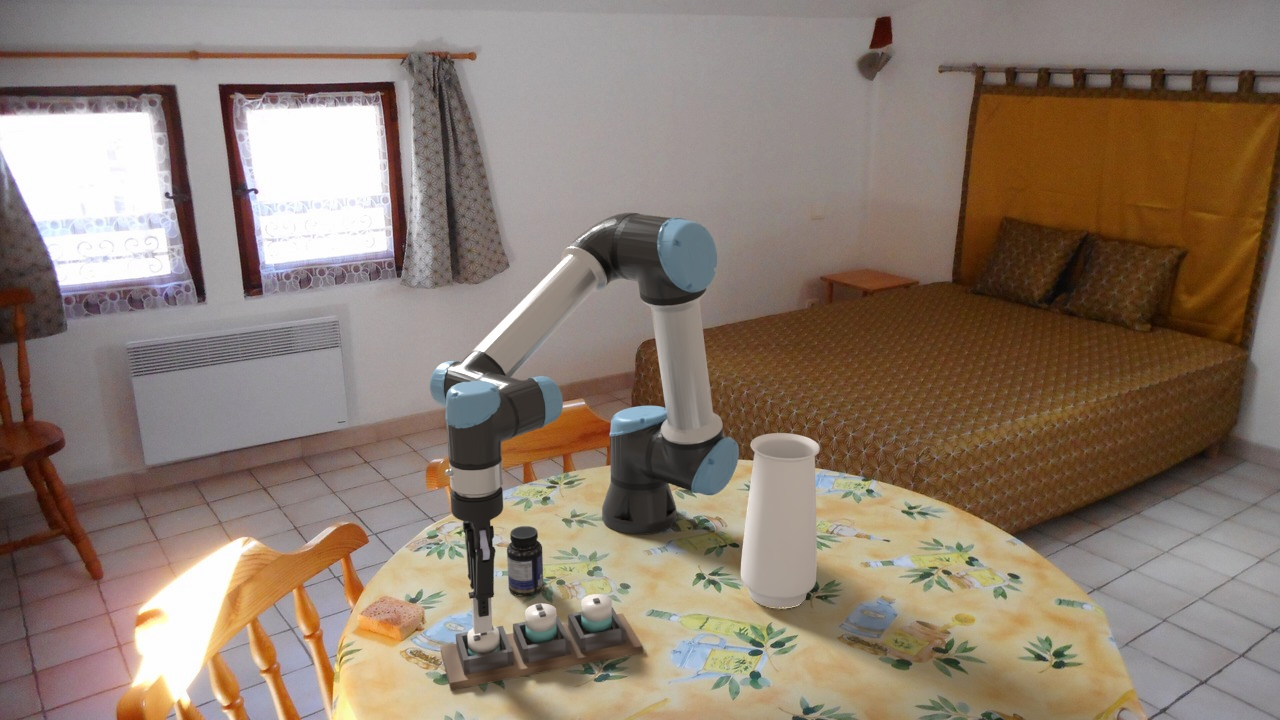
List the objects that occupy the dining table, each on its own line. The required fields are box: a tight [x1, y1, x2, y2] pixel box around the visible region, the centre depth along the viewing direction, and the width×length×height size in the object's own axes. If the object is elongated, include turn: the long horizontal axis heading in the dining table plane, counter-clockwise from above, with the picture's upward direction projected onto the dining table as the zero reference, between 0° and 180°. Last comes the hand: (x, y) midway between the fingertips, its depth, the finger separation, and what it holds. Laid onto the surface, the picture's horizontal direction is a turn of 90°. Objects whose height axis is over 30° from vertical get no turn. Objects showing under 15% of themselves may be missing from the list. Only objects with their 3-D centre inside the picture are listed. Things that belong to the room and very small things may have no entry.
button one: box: [580, 593, 613, 633], centre depth 155 cm, size 5×5×4 cm
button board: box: [439, 606, 644, 691], centre depth 153 cm, size 30×10×4 cm, turn 109°
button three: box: [467, 624, 500, 656], centre depth 150 cm, size 5×5×4 cm
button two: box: [524, 603, 557, 643], centre depth 152 cm, size 5×5×4 cm
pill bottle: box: [506, 525, 544, 597], centre depth 171 cm, size 6×6×11 cm
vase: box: [740, 432, 821, 608], centre depth 167 cm, size 13×13×28 cm
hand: (482, 630), depth 149 cm, fingers closed
